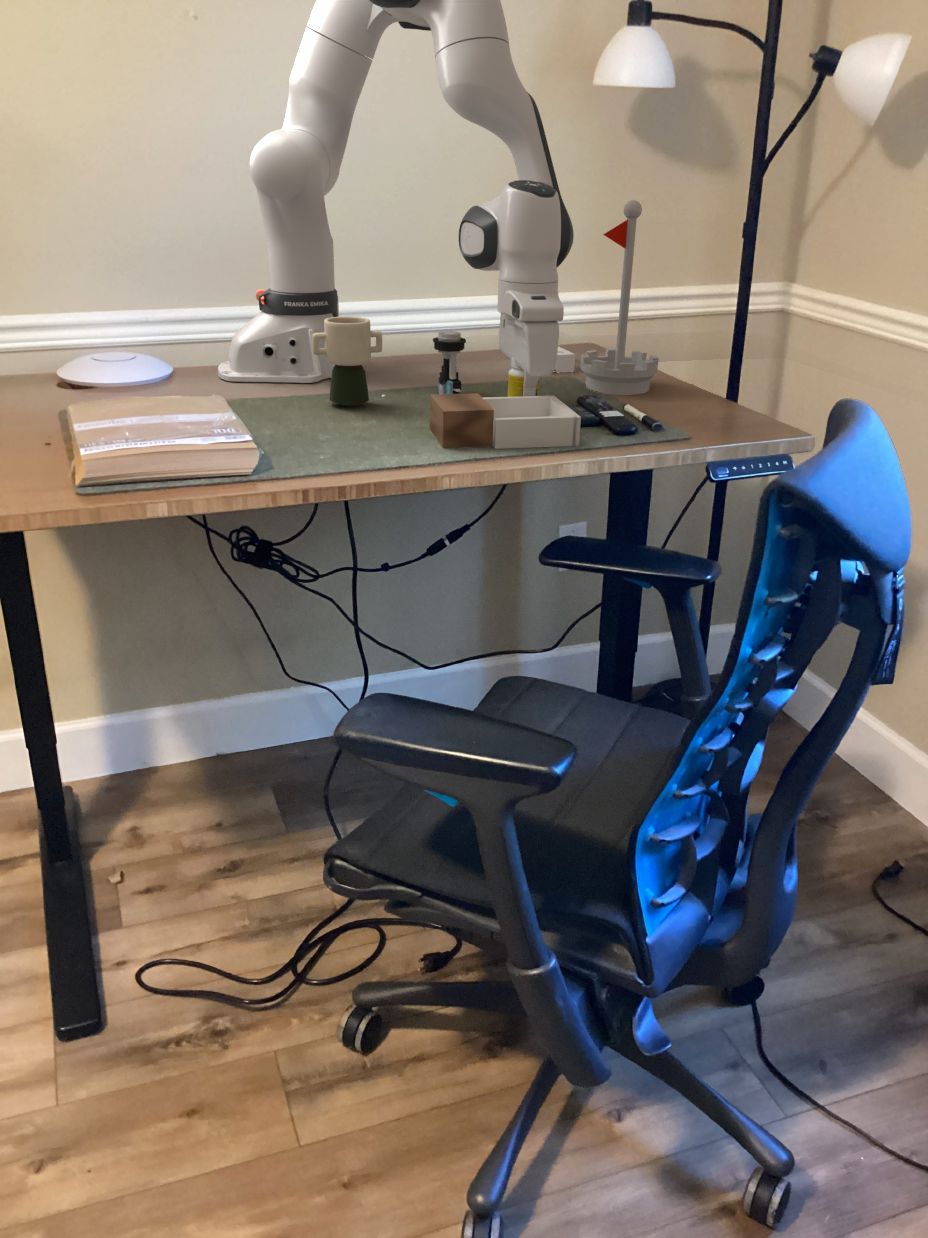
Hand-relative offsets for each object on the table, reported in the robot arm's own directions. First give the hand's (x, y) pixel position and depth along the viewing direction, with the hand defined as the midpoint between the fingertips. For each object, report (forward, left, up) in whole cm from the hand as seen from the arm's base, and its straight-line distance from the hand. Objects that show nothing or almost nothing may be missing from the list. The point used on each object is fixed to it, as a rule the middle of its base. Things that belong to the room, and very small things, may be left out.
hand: (523, 393), depth 156 cm
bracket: (+13, +34, -4) cm, 37 cm away
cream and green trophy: (-26, +8, -3) cm, 27 cm away
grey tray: (-3, -13, -3) cm, 14 cm away
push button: (-9, +12, -3) cm, 15 cm away
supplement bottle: (0, 0, -3) cm, 3 cm away
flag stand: (+21, +15, -3) cm, 26 cm away
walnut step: (-12, -13, -3) cm, 18 cm away
